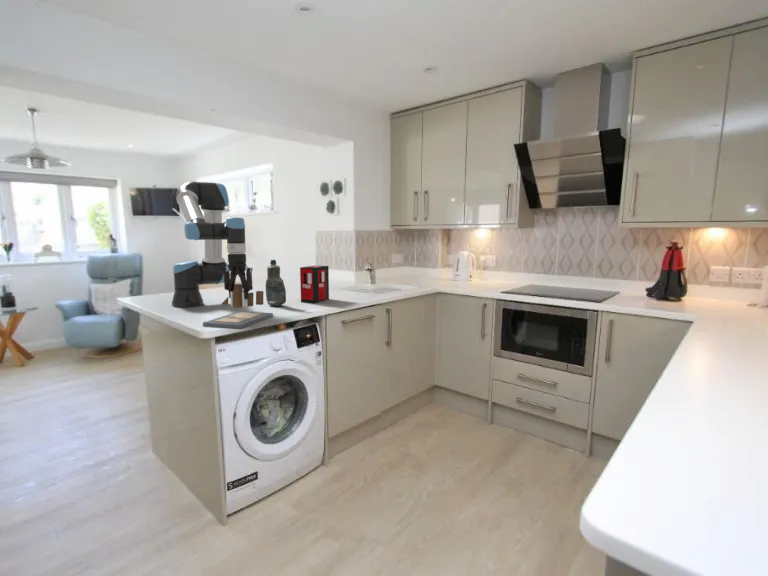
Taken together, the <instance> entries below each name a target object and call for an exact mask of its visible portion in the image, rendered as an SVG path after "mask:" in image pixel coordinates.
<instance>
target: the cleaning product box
mask: <svg viewBox="0 0 768 576" xmlns="http://www.w3.org/2000/svg"><path fill="white" fill-rule="evenodd" d="M329 270H330V269H329V265H310V266H302V267H300V268H299V278H300V303H306V304H317V303H321V302H325V301H327V299H328V300H329V299H330V284H329V283H330V282H329V281H330V279H329V276H330V275H329ZM324 300H325V301H324Z"/></svg>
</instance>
